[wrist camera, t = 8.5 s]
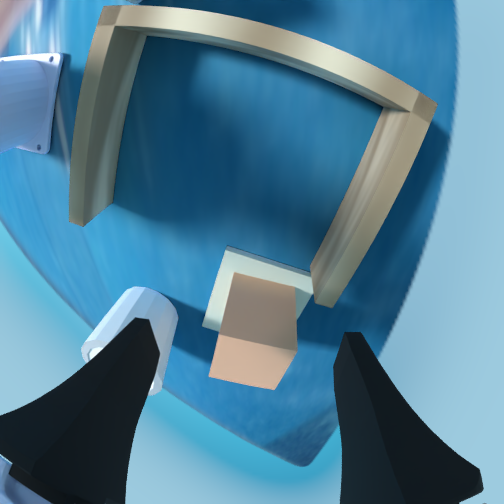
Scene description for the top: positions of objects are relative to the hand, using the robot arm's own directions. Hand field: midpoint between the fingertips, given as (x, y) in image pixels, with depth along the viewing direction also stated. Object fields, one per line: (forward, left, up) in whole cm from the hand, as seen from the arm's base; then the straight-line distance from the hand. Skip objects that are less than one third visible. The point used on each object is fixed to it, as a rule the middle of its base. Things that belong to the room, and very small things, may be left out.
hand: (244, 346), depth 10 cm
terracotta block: (+2, -6, -10) cm, 12 cm away
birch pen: (-3, +5, -10) cm, 12 cm away
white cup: (-7, -12, -11) cm, 17 cm away
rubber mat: (+2, -6, -10) cm, 12 cm away
